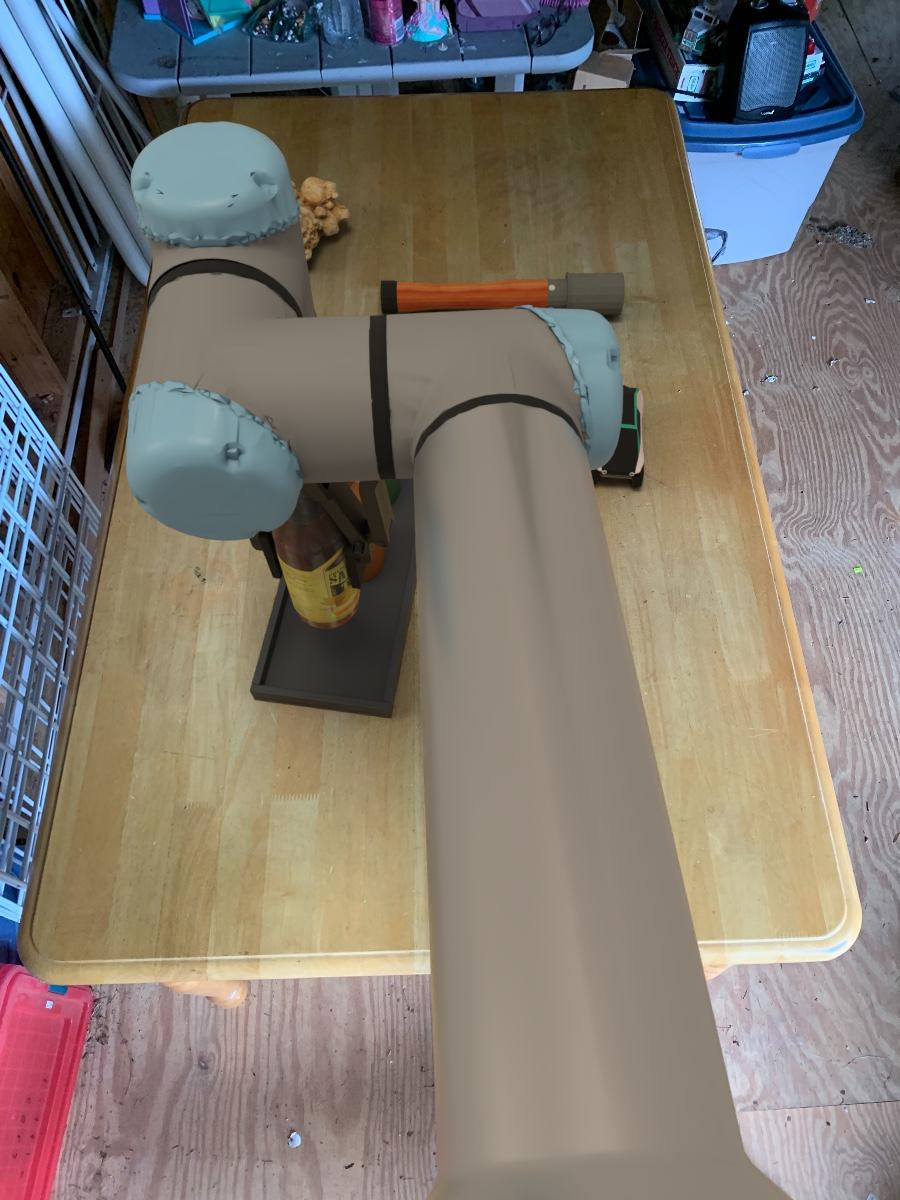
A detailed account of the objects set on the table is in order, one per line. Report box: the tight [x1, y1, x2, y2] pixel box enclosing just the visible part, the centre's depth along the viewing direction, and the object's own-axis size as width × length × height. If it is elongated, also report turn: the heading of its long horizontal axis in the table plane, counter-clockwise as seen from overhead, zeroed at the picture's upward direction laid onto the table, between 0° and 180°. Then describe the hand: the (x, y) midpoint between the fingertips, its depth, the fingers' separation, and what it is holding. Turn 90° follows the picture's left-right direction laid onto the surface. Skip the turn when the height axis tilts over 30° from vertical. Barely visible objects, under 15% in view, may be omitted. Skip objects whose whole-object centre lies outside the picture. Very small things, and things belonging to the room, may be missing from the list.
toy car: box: [591, 384, 645, 489], centre depth 93 cm, size 6×12×5 cm, turn 175°
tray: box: [249, 479, 417, 719], centre depth 87 cm, size 31×14×2 cm, turn 172°
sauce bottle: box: [272, 487, 360, 629], centre depth 69 cm, size 7×6×20 cm
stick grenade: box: [379, 271, 626, 316], centre depth 104 cm, size 5×5×30 cm
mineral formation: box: [291, 176, 351, 262], centre depth 110 cm, size 8×13×15 cm
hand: (320, 569), depth 72 cm, fingers closed on sauce bottle, 6 cm apart
